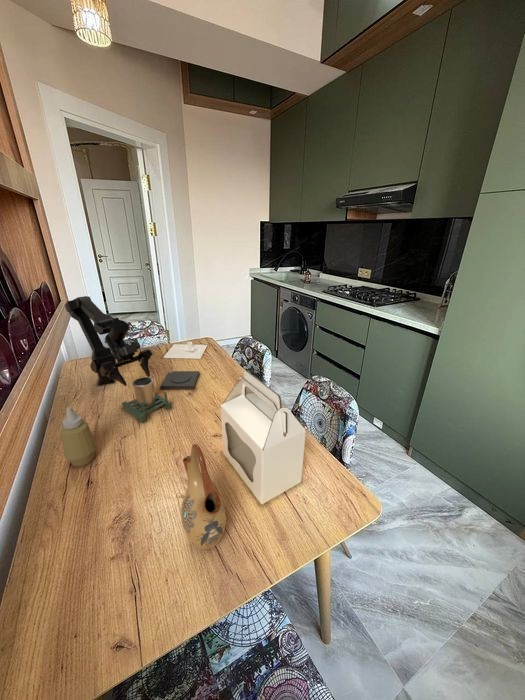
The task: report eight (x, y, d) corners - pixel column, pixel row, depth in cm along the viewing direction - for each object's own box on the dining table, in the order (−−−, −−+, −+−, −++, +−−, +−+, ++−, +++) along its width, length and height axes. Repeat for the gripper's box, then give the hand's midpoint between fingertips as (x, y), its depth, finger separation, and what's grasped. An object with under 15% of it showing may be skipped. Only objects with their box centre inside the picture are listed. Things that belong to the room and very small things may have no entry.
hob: (160, 389, 123) (160, 384, 123) (169, 374, 136) (169, 369, 136) (193, 389, 124) (193, 384, 123) (199, 374, 137) (199, 369, 136)
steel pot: (135, 400, 111) (132, 379, 107) (154, 396, 114) (151, 375, 110) (137, 409, 105) (133, 387, 101) (157, 405, 108) (154, 383, 104)
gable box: (222, 452, 89) (218, 371, 78) (258, 437, 96) (259, 360, 85) (262, 506, 72) (263, 411, 61) (302, 482, 79) (310, 394, 68)
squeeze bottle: (105, 454, 87) (92, 404, 80) (79, 473, 81) (63, 420, 74) (87, 446, 90) (73, 397, 84) (61, 464, 84) (43, 412, 77)
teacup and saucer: (195, 352, 160) (195, 345, 159) (181, 352, 160) (180, 345, 159) (198, 346, 168) (198, 340, 167) (185, 346, 168) (184, 339, 167)
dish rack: (122, 408, 110) (119, 391, 107) (151, 395, 119) (148, 379, 116) (142, 422, 102) (139, 404, 99) (171, 408, 111) (169, 391, 108)
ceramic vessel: (175, 515, 69) (163, 430, 60) (210, 499, 74) (204, 417, 64) (197, 582, 56) (186, 487, 47) (239, 557, 61) (237, 466, 51)
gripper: (96, 342, 98) (118, 381, 96) (146, 329, 112) (166, 363, 110) (91, 357, 106) (111, 393, 104) (138, 343, 119) (157, 375, 117)
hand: (138, 380), depth 108 cm, fingers open, 9 cm apart
